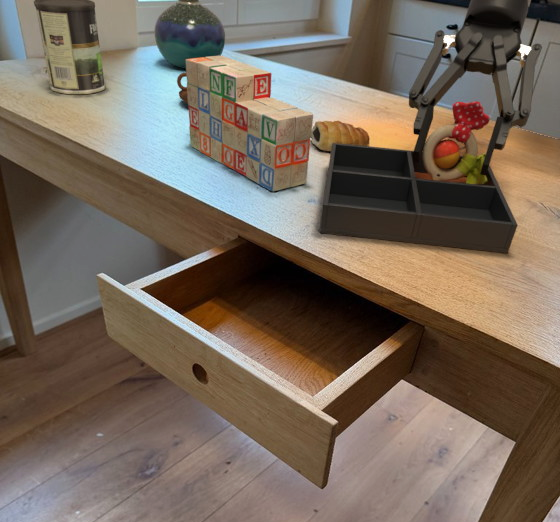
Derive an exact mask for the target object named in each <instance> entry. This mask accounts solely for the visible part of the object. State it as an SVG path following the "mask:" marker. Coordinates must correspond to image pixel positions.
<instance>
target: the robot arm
mask: <svg viewBox="0 0 560 522" xmlns="http://www.w3.org/2000/svg"><path fill="white" fill-rule="evenodd" d="M531 1H532V0H470V2H469V4H468V8H467V11H466V14H465V17H464V20H463V24H462V26H461V28H460V29H459V30H458V31H457V32H456V34H445V32H444V30H442V29H440V30H437V31H436V32H435V33H434V40H433V46H432V48H431V50H430V52H429V54H428V56H427V58H426V60H425V62H424V63H423V66H422V67H421V69H420V71H419V73H418V74H417V77H416V79H415V80H414V82H413V84H412V86H411V88H410V90H409V92H408V107H409V108H411V109H416V110H417V112H416V115H415V119H414V122H413V128H412V129H413V131H412V132H413V135H416V136H417V139H416V141H415V145H414V149H413V151H414V155H413V161H414V162H419V160H420V157H421V154H422V151H423V147H424V144H425V142H426V140H427V139H428V135H429V132H430V128H431V126H432V122H433V119H434V111H435V106H436V105H437V104H438V103H439V102H440V101H441V100H442V99H443V97H444V96H445V95H446V94H447V93H448V91H449V90H450V89H451V88H452V87H453V86H454V85H455V83H456V82H457V81H458V79H461V78H462V77H463V76H464V75H465V73H467V72H470V73H481V74H483V75H489V76H490V75H491V79H492V83H493V86H494V91H495V97H496V102H497V108H498V114H499V116H497V117H496V119H495V123H494V127H493V129H492V133H491V135H490V139H489V143H488V146H487V148H486V152H485V154H486V155H485V159H484V162H483V165H482V169H481V173H480V174H481V175H486V174H487V170H488V167H489V165H490V164H491V160H492V157H493V154H494V151H495V150H498V151H503V149H504V148H505V146H506V144H507V140H508V137H509V133H510V130H511V128H513V127H515V126H518V127H521V128H523V127H525V126H526V125H527V122H528V121H529V117H530V115H531V111H532V100H533V90H534V81H535V71H536V65H537V63H538V61H539V58H540V55H541V52H542V49H543V45H542V44H540V43H534V44H532V46H530V45H527V44H523V42H522V38H521V35H522V31H523V28H524V25H525V22H526V18H527V15H528V13H529V8H530V4H531V3H532V2H531ZM451 48H454V49H455V51H456V55H455V56H454V59H453V61H452V62H451V63H450V64H449V66H448V67H447V68H446V69H445V70H444V71H443V73H442V74H441V75H440V76H439V77H438V78H437V80H436V81H435V82H434V83H433V84H432V85H431V87H430V88H429V89H428V86H429V84H430V82H431V81H432V79H433V77H434V75H435V73H436V72H437V69H438V67H439V66H440V63H441V61H442V58H443V56H446V55H447V53H448V52H450V49H451ZM516 57H519V64H520V67H522V71H521V77H520V87H519V95H518V96H519V97H518V104H517V105H518V107H517V110H516V109H514V108H515V107H514V103H513V98H512V92H511V85H510V81H509V80H510V79H509V75H508V74H509V73H508V63H510V62H511V61H512V60H514V59H515V58H516ZM427 89H428V90H427ZM426 90H427V91H426Z"/></svg>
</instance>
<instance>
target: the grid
mask: <svg viewBox="0 0 560 522" xmlns="http://www.w3.org/2000/svg"><path fill="white" fill-rule="evenodd" d="M413 155H414V150H410V149H400V148H399V149H398V148H389V147H379V146H370V145H368V146H360V145H350V144H340V143H332V147H331V151H330V153H329V161H328V168H327V169H328V170H327V175H326V181H325V188H324V195H323V201H322V209H321V217H320V226H319V234H326V235H336V236H346V237H354V238H362V239H371V240H373V239H374V240H383V241H391V242H392V241H393V242H402V243H410V244H419V245H426V246H427V245H428V246H438V247H447V248H455V249H456V248H457V249H464V250H474V251H483V252H492V253H502V254H508V253H509V250H510V248H511V245H512V242H513V239H514V237H515V234H516V230H517V229H518V223H517V221H516V219H515V217H514V214H513V211H512V209H511V208H510V206H509V203H508V200H507V199H506V197H505V195H504V192H503V191H502V188H501V187H500V184H499V183H498V180H497V177H496V176H495V173H494V172H493V170H492V168H491V165H490V164H489V167H488V170H487V174H486V177H487V182H486V183H484V184H482V185H481V184H468V183H466V178H467V176H465V177H463V178H460V179H455V180H452V181H439V180H430V175H429V174H428V172H427V171H426V169H425V167H424V164H423V160H422V154H421V157H420V160H419V162H414V161H413ZM461 159H462V155H460V157H459V160H458V162H457V163H456V164H455V165H454V166H452V167H451V168H448V169H453V168H455V167H456V166H457V165H458V163H460V162H461Z"/></svg>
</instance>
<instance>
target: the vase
mask: <svg viewBox="0 0 560 522" xmlns="http://www.w3.org/2000/svg"><path fill="white" fill-rule="evenodd" d="M154 40H155V43H156V47H157V49H158V51H159V54H160V55H161V57H163V58H164V60H165V61H166V62H167V63H169V64H170V65H172V66H174V67H177V68H180V69H185V70H186V59H192V58H201V57H204V58H205V57H210V56H222V54H223V52H224V48H225V44H226V31H225V27H224V25H223V23H222V21H221V19H220V18H219V17H218V15H217V14H216V13H214V12H213V11H212V10H211V9H210V8H208V7H207V6H205V5H204V4H202V3H201V2H200V0H178V1H176V2H175V3H173V4H171V5H170V6H169V7H167V8H166V9H165V10H163V11H162V12H161V14H159V16H158V17H157V19H156V21H155V25H154Z"/></svg>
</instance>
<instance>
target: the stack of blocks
mask: <svg viewBox="0 0 560 522" xmlns="http://www.w3.org/2000/svg"><path fill="white" fill-rule="evenodd" d="M185 71H186V72H185V73H186V74H187V77H186V87H187V95H188V96H187V97H188V104H189V105H188V104H187V105H188V119H189V127H188V129H189V144H190V147H191V148H194V149H195V150H197V151H199V152H200V153H201V154H203V155H205V156H207V157H209V158H211V159H212V160H215V161H216V162H218V163H220V164H222V165H224V166H226V167H227V168H230V169H232V170H233V171H235V172H237V173H238V174H241V175H243V176H244V177H246V178H248V179H249V180H251V181H253V182H254V183H256V184H258V185H260V186H262V187H264V188H265V189H267V190H268V191H271V192H276V191H281V190H285V189H288V188H294V187H297V186H301V185H304V184H306V183H307V179H308V165H309V159H310V149H311V139H312V138H311V134H312V128H313V122H314V113H312V112H309V111H307V110H304V109H301V108H299V107H298V106H295V105H292V104H290V103H287V102H285V101H283V100H280V99H278V98H274V97H271V95H272V72H270V71H268V70H264V69H262V68H259V67H256V66H253V65H250V64H248V63H244V62H241V61H238V60H235V59H232V58H231V57H227V56H225V55H221V56H210V57H205V58H204V57H201V58H192V59H186V69H185Z"/></svg>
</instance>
